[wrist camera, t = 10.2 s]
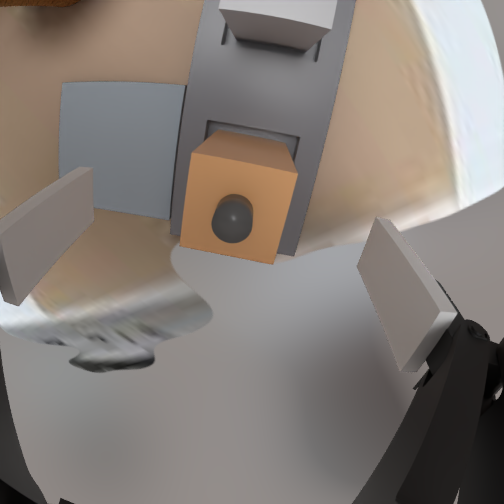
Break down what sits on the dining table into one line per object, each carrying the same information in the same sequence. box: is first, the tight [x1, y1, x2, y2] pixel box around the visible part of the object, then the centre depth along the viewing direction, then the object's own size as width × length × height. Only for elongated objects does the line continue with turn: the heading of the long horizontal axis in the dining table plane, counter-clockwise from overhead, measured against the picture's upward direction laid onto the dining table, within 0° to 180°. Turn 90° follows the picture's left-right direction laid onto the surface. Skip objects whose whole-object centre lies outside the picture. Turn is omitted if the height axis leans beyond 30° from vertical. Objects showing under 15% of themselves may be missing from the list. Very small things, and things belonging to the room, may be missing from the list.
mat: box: [59, 81, 187, 220], centre depth 23 cm, size 11×11×1 cm
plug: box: [180, 129, 298, 264], centre depth 18 cm, size 5×5×11 cm
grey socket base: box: [170, 0, 356, 256], centre depth 16 cm, size 10×24×11 cm, turn 169°
